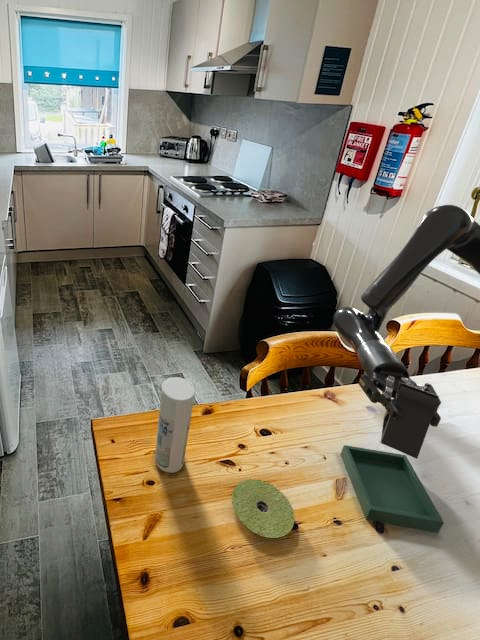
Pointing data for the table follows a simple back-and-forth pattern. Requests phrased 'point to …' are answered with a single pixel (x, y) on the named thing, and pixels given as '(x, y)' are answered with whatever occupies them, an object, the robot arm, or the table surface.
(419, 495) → the tray
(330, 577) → the table surface
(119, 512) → the table surface
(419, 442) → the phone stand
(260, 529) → the green abrasive disc
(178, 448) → the spray can
